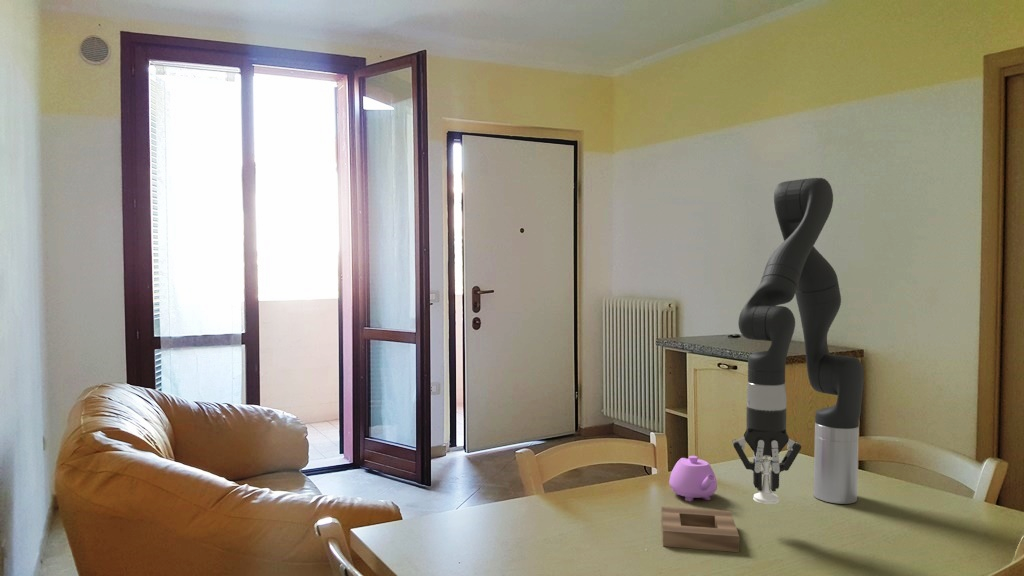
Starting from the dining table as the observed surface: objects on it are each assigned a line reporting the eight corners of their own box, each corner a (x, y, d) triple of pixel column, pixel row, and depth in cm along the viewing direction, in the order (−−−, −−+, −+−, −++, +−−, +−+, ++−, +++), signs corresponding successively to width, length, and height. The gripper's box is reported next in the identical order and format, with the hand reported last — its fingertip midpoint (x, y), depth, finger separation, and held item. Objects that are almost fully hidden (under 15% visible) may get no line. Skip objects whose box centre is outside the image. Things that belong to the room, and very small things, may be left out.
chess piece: (781, 505, 142) (781, 455, 142) (754, 503, 143) (755, 454, 142) (776, 496, 147) (777, 448, 146) (751, 495, 148) (751, 447, 147)
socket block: (661, 520, 152) (661, 506, 151) (730, 525, 149) (730, 511, 149) (663, 546, 138) (663, 530, 138) (738, 552, 135) (739, 536, 135)
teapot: (698, 486, 175) (699, 448, 175) (732, 506, 161) (733, 465, 161) (659, 489, 173) (660, 450, 172) (690, 510, 158) (691, 468, 158)
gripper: (798, 401, 146) (798, 485, 147) (728, 400, 149) (728, 482, 150) (807, 409, 139) (806, 497, 140) (732, 408, 141) (732, 494, 142)
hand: (765, 489), depth 145 cm, fingers closed on chess piece
